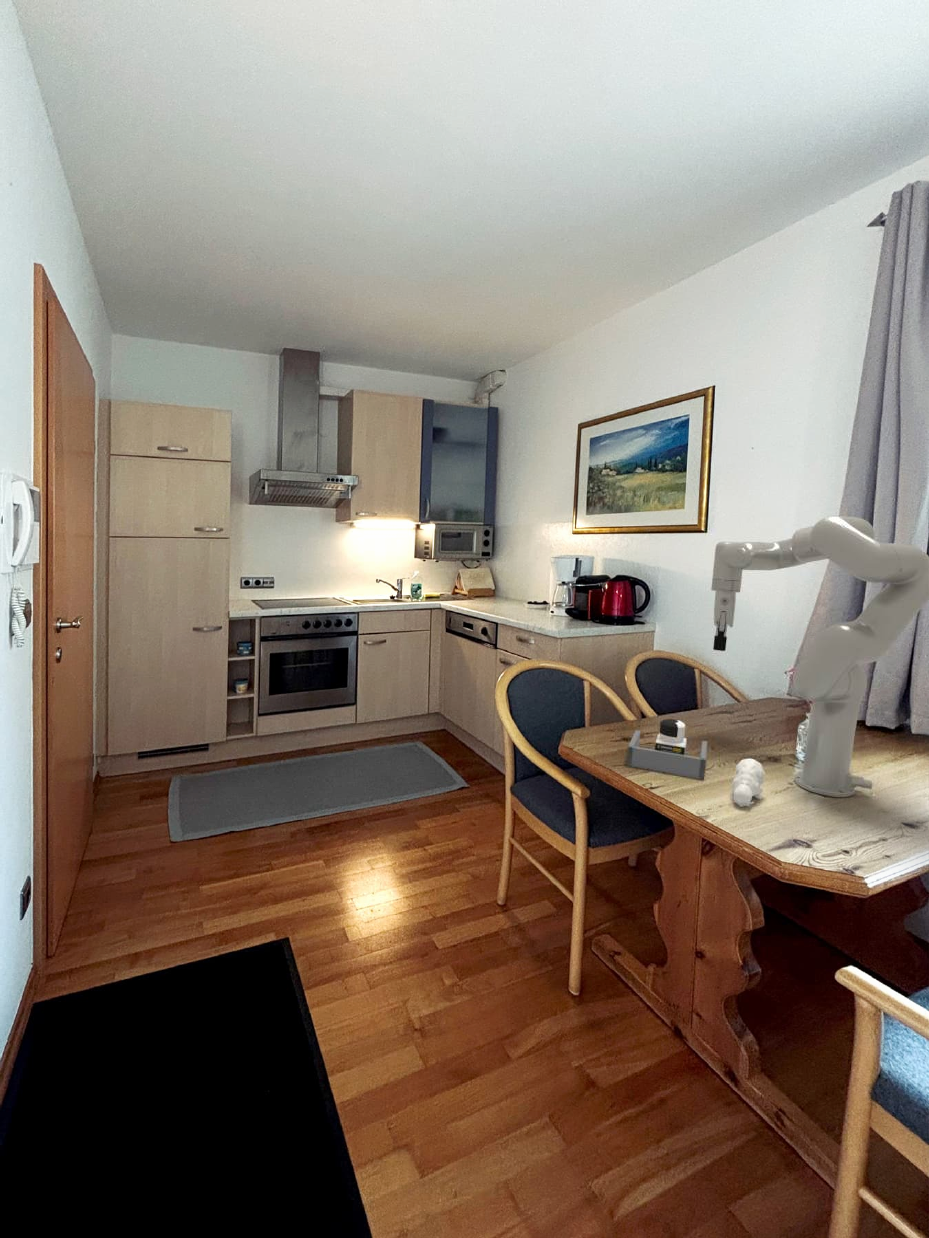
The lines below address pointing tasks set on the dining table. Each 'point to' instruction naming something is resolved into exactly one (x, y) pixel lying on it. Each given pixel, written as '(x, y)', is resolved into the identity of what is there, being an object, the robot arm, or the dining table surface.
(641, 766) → the box
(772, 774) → the dining table surface
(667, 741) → the medicine bottle
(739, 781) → the white animal figurine
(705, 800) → the dining table surface
